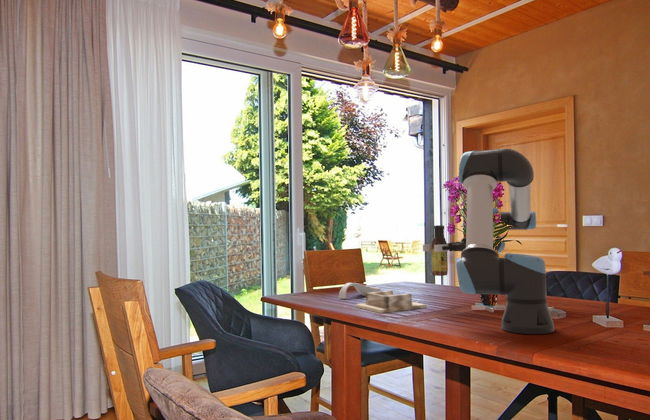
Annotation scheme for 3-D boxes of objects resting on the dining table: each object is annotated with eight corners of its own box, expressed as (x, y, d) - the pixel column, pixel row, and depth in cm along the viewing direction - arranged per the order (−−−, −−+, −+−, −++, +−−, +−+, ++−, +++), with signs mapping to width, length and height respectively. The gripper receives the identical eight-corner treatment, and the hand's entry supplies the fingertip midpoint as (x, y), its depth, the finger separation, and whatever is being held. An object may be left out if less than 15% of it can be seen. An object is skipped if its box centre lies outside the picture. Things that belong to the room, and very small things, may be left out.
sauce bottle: (444, 276, 191) (442, 225, 192) (429, 275, 195) (427, 225, 196) (450, 275, 196) (449, 225, 197) (436, 274, 200) (434, 225, 201)
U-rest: (380, 313, 188) (380, 298, 188) (355, 307, 204) (355, 293, 204) (425, 307, 198) (425, 293, 198) (398, 302, 214) (398, 288, 214)
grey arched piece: (368, 293, 247) (367, 278, 248) (385, 295, 239) (385, 280, 239) (333, 298, 232) (333, 283, 232) (351, 300, 223) (350, 284, 223)
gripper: (490, 255, 196) (446, 258, 185) (456, 254, 213) (414, 256, 202) (490, 236, 196) (445, 238, 185) (456, 236, 213) (413, 238, 202)
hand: (429, 248), depth 194 cm, fingers closed on sauce bottle, 6 cm apart
